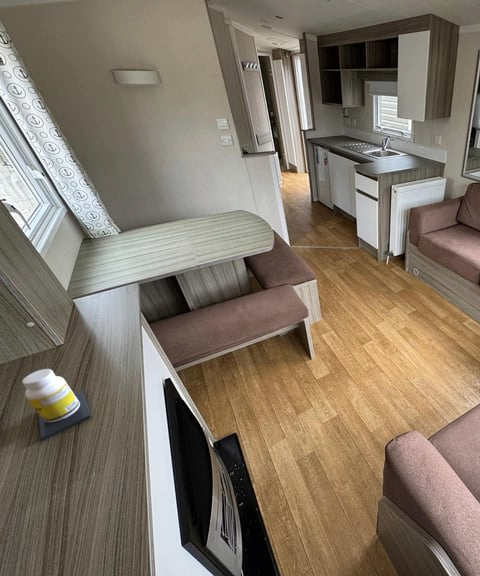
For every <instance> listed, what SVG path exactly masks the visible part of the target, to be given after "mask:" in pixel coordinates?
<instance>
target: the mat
mask: <svg viewBox="0 0 480 576" xmlns="http://www.w3.org/2000/svg"><path fill="white" fill-rule="evenodd" d="M74 395H75V396H76V398H77V399H78V401H79V402H80V406H79V408H78V409H77V411H75V412H74V413H73V414H72V415H70V416H69V417H67V418H65V419H62V420H60V421H57V422H46V421H44V420H43V418H42V417H41V416H40V415H39V413H38V412H37V416H38V424H39V433H40V434H39V435H40V439H41V441H45V440H47V439H49V438H51V437H53V436H55V435H57V434H59V433H61V432H63V431H65V430H68V429H70V428H72V427H73V426H76V425H78V424H80V423H82V422H84V421H87V420H89V419H91V418H92V415H91V411H90V408H89V405H88V401H87V398H86V394H85V392H84V390H81V391H78V392H77V393H74Z"/></svg>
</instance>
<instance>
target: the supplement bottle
mask: <svg viewBox="0 0 480 576" xmlns="http://www.w3.org/2000/svg"><path fill="white" fill-rule="evenodd" d="M21 383H22V385H23V386H24V387H25V388H26V390H25V393H24V396H25V398H26V399H27V401H28V402H29V403H30V404H31V406H32V407H33V408H34V409H35V411H36V412H37V414H38V413H39V415H40V416H41V417H42V418H43V420H44V421H46V422H57V421H60V420H62V419H65V418H67V417H69V416H70V415H72V414H73V413H74V412H75V411H77V409H78V408H79V406H80V402H79V401H78V399H77V398H76V396H75V395H74V394H75V393H74V392H73V390H72V389H71V387H70V386H69V385H68V382H67V381H66V380H65V379H64V377H62V376H58V375H56V374H55V373H54V371H53V370H52V369H51V368H43V369H39V370H36V371H34V372H32V373H30V374H28V375H26V376H25V377H24V378H23V379H22V381H21Z"/></svg>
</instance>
